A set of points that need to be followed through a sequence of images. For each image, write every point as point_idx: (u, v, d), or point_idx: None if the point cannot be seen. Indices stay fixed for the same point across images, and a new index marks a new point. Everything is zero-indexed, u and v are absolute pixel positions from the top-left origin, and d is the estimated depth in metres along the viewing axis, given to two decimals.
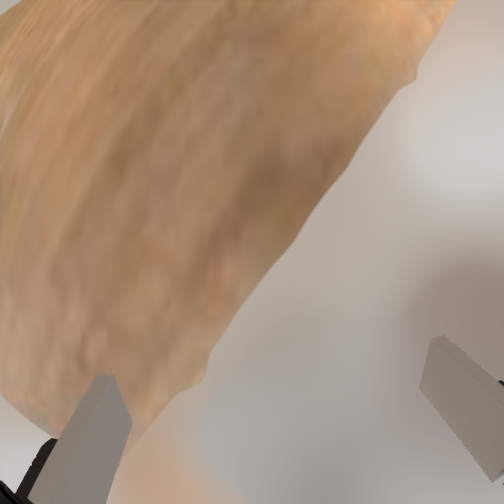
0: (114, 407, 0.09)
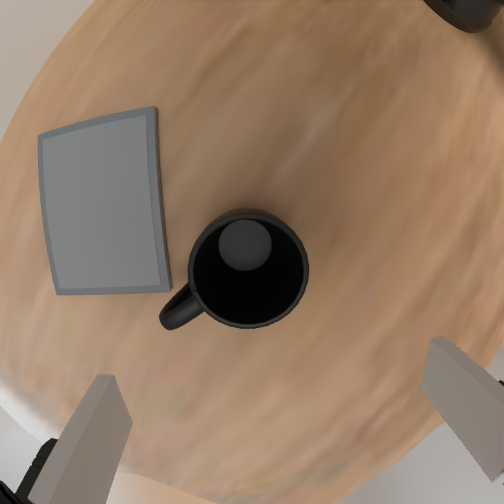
0: (114, 407, 0.09)
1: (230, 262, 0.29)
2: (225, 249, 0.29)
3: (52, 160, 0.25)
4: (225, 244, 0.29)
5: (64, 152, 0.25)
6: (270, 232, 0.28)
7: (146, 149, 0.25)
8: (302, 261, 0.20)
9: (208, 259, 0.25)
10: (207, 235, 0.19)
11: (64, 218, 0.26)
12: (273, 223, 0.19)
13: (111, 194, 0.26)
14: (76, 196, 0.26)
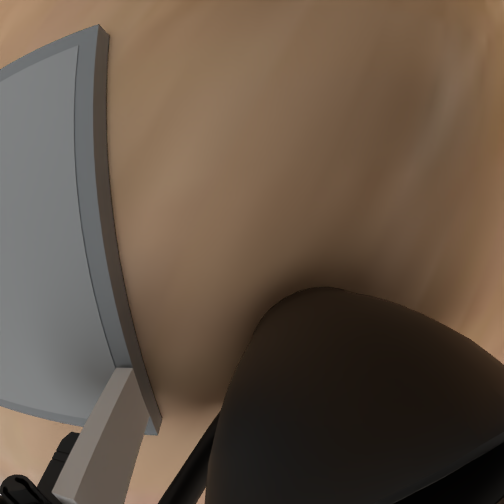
0: (133, 400, 0.10)
1: None
2: None
3: None
4: None
5: None
6: None
7: (72, 123, 0.08)
8: None
9: None
10: None
11: None
12: None
13: (9, 238, 0.09)
14: None
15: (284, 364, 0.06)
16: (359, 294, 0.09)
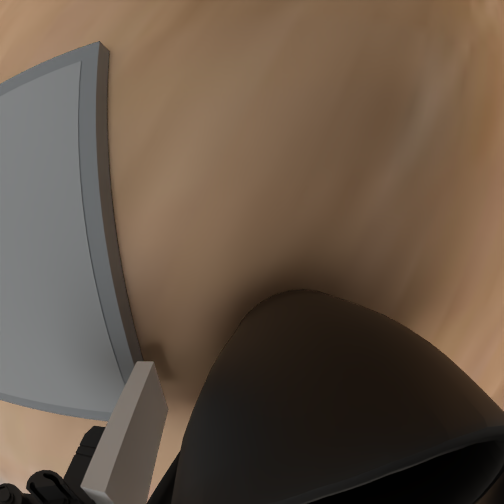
0: (154, 393, 0.10)
1: None
2: None
3: None
4: None
5: None
6: None
7: (77, 134, 0.10)
8: (496, 470, 0.03)
9: None
10: None
11: None
12: (485, 440, 0.03)
13: (17, 239, 0.10)
14: None
15: (237, 369, 0.06)
16: (328, 297, 0.10)
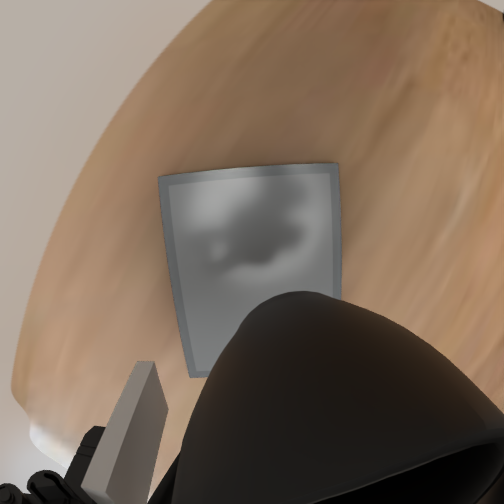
0: (155, 393, 0.10)
1: None
2: None
3: (189, 217, 0.22)
4: None
5: (209, 207, 0.22)
6: None
7: (330, 215, 0.23)
8: (496, 472, 0.03)
9: None
10: None
11: (212, 293, 0.24)
12: (484, 442, 0.03)
13: (283, 267, 0.24)
14: (232, 267, 0.23)
15: (237, 370, 0.06)
16: (328, 298, 0.10)
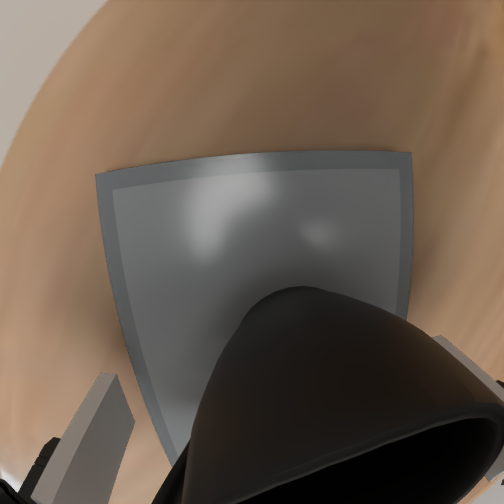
0: (117, 406, 0.09)
1: None
2: None
3: (149, 246, 0.12)
4: None
5: (184, 230, 0.12)
6: None
7: (397, 243, 0.13)
8: (492, 452, 0.04)
9: None
10: None
11: (196, 372, 0.13)
12: (476, 416, 0.03)
13: None
14: (228, 333, 0.13)
15: (243, 357, 0.07)
16: (326, 292, 0.10)
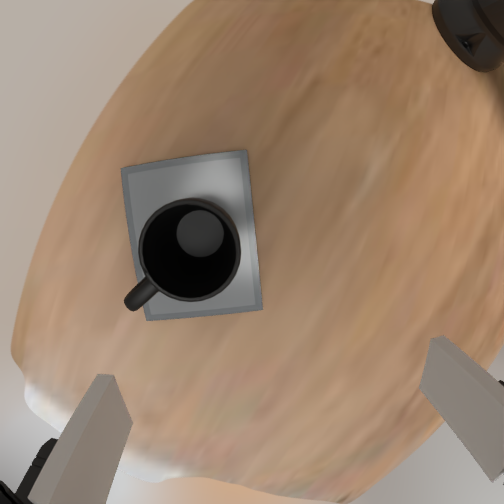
0: (114, 407, 0.09)
1: (189, 250, 0.32)
2: (183, 239, 0.32)
3: (141, 195, 0.30)
4: (182, 235, 0.31)
5: (154, 187, 0.30)
6: (219, 218, 0.30)
7: (242, 189, 0.31)
8: (232, 236, 0.23)
9: (164, 248, 0.28)
10: (149, 223, 0.22)
11: None
12: (201, 206, 0.22)
13: None
14: None
15: None
16: None
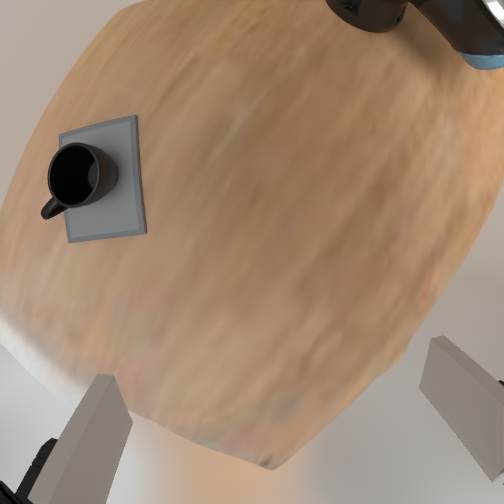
0: (114, 407, 0.09)
1: None
2: (92, 180, 0.39)
3: None
4: (91, 177, 0.39)
5: None
6: None
7: (130, 142, 0.39)
8: (95, 162, 0.30)
9: (73, 182, 0.36)
10: (54, 158, 0.30)
11: None
12: (80, 145, 0.30)
13: None
14: None
15: None
16: None
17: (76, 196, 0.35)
